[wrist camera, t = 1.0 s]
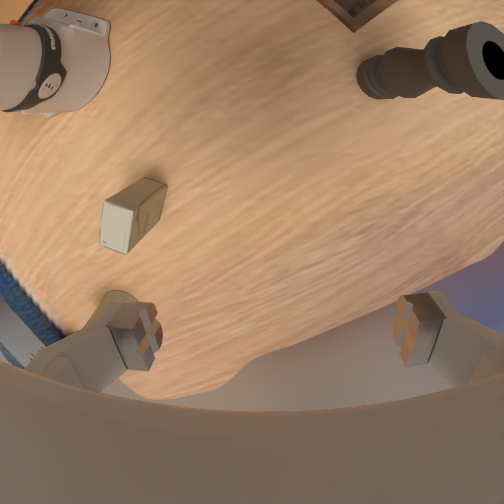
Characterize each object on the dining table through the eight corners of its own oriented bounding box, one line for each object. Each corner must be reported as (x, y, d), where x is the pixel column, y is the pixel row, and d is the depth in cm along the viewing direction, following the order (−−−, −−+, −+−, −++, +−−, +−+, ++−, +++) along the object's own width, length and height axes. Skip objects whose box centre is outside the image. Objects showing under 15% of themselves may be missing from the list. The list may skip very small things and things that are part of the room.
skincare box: (159, 221, 44) (127, 258, 33) (134, 212, 44) (97, 246, 33) (168, 183, 41) (134, 211, 31) (142, 175, 41) (102, 200, 30)
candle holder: (365, 50, 30) (472, 1, 8) (402, 73, 31) (528, 59, 9) (349, 85, 33) (453, 63, 11) (387, 107, 34) (511, 121, 12)
